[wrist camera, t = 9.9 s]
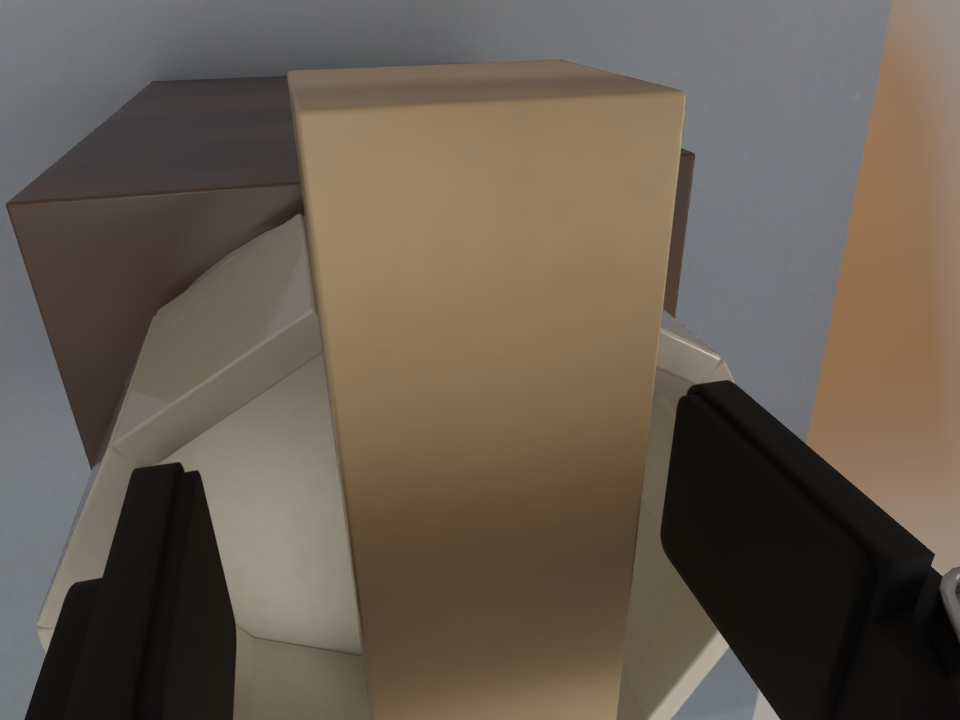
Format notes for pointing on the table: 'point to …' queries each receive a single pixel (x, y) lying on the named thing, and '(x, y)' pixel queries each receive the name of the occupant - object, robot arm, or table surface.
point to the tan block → (489, 367)
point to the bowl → (328, 491)
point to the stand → (169, 221)
